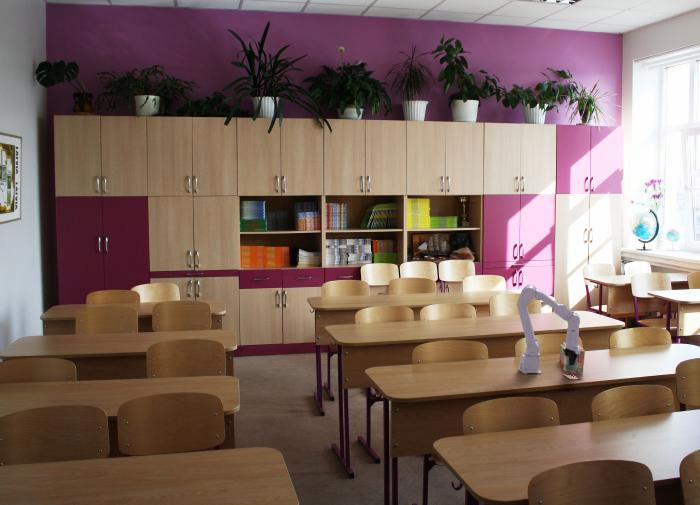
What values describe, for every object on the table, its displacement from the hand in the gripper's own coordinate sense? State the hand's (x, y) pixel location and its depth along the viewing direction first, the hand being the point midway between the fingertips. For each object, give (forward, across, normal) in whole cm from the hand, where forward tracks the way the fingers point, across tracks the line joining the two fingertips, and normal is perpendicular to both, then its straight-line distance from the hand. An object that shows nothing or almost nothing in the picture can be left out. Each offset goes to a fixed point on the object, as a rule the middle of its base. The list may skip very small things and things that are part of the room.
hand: (570, 364), depth 351 cm
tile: (+3, 0, 0) cm, 3 cm away
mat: (+6, -2, 0) cm, 6 cm away
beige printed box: (+6, +14, -8) cm, 17 cm away
